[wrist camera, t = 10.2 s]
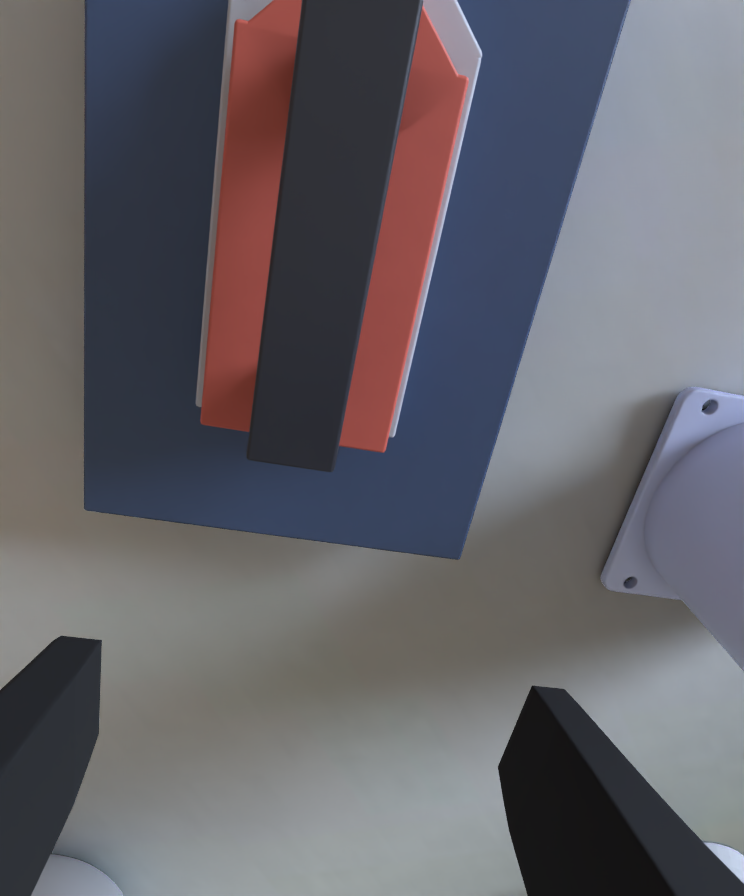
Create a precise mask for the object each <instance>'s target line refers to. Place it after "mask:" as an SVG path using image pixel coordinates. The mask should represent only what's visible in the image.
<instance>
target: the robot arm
mask: <svg viewBox="0 0 744 896" xmlns="http://www.w3.org/2000/svg"><path fill="white" fill-rule="evenodd" d="M708 400H711V401H710V405H709V406H708V408H707V409H705V410H703V411H702V406H703V404H704V403H705V402H706V401H708ZM629 577H632V578H631V579H630V580H629V581H627V582H624V581H625V580H626V579H627V578H629ZM601 581H602V583H603V584H604V586H605V587H606V588H607V589H608V590H611V591H615V592H623V593H631V594H638V595H646V596H654V597H661V598H669V599H677V600H682V601H683V602H684V603H685V604H686V605H687V606H688V608H689V609H690V610H691V611H692V612H693V613H694V614H695V616H696V617H697V618H698V619H699V620H700V621H701V623H702V624H703V625H704V626H705V627H706V628H707V629H708V631H709V632H710V633H711V634H712V635H713V636H714V638H715V639H716V640H717V641H718V642H719V643H720V644H721V646H722V647H723V648H724V649H725V650H726V651H727V653H728V654H729V655H730V656H731V657H732V658H733V659H734V661H735V662H736V663H737V664H738V665H739V666H740V667H741V669H742V670H743V671H744V396H742V395H737V394H732V393H726V392H721V391H715V390H710V389H705V388H699V387H689V388H686V389H684V390H683V391H682V392H680V393H679V395H678V396H677V398H676V400H675V402H674V404H673V407H672V409H671V411H670V414H669V416H668V418H667V421H666V423H665V426H664V428H663V430H662V433H661V435H660V437H659V440H658V442H657V444H656V447H655V449H654V451H653V454H652V456H651V458H650V461H649V463H648V465H647V468H646V470H645V473H644V475H643V477H642V480H641V482H640V484H639V487H638V489H637V491H636V494H635V496H634V498H633V501H632V503H631V505H630V508H629V510H628V513H627V515H626V517H625V520H624V522H623V524H622V527H621V529H620V531H619V534H618V536H617V538H616V541H615V543H614V545H613V548H612V550H611V552H610V555H609V557H608V560H607V562H606V564H605V567H604V569H603V571H602V574H601ZM101 646H102V640H95V639H86V638H76V637H67V636H60V637H58V638H57V639H55V640H54V641H52V642H51V643H50V644H49V645H48V646H47V647H46V648H45V649H44V650H43V651H42V652H41V653H40V654H39V655H38V656H36V657H35V658H34V659H33V660H32V661H31V662H30V663H29V664H28V665H27V666H26V667H25V668H24V669H23V670H22V671H20V672H19V673H18V674H17V675H16V676H15V677H14V678H13V679H12V680H11V681H10V682H9V683H7V684H6V685H5V686H4V687H3V688H2V689H1V690H0V896H31V895H32V892H33V890H34V888H35V886H36V884H37V882H38V880H39V878H40V876H41V873H42V871H43V869H44V867H45V865H46V863H47V861H48V858H49V856H50V854H51V852H52V850H53V848H54V846H55V843H56V841H57V839H58V837H59V835H60V833H61V831H62V828H63V826H64V824H65V822H66V820H67V818H68V815H69V813H70V811H71V809H72V807H73V805H74V802H75V799H76V797H77V794H78V791H79V788H80V786H81V783H82V780H83V777H84V775H85V772H86V769H87V766H88V763H89V760H90V757H91V754H92V752H93V749H94V746H95V743H96V740H97V737H98V734H99V708H100V677H101ZM498 770H499V776H500V782H501V788H502V794H503V800H504V806H505V811H506V816H507V821H508V827H509V832H510V835H511V839H512V843H513V846H514V850H515V853H516V857H517V860H518V863H519V867H520V870H521V874H522V877H523V881H524V884H525V888H526V891H527V894H528V896H744V883H743V882H742V881H741V880H740V879H739V878H738V877H737V876H736V875H735V874H734V873H733V872H732V871H731V870H730V869H729V868H728V867H727V866H726V865H725V864H724V863H723V862H722V861H721V860H720V859H719V858H718V857H717V856H716V855H715V854H714V853H713V852H712V851H711V850H710V849H709V848H708V847H707V846H706V845H705V844H704V843H703V842H702V841H701V839H700V838H699V837H698V836H697V835H696V834H695V833H694V832H693V831H692V830H691V829H690V828H689V827H688V826H687V825H686V824H685V823H684V821H683V820H682V819H681V818H680V817H679V816H678V815H677V814H676V813H675V812H674V811H673V810H672V809H671V807H670V806H669V805H668V804H667V803H666V802H665V801H664V800H663V799H662V798H661V797H660V795H659V794H658V793H657V792H656V791H655V790H654V789H653V788H652V787H651V786H650V784H649V783H648V782H647V781H646V780H645V779H644V778H643V777H642V775H641V774H640V773H639V772H638V771H637V770H636V769H635V768H634V767H633V765H632V764H631V763H630V762H629V761H628V760H627V759H626V757H625V756H624V755H623V754H622V753H621V752H620V751H619V750H618V748H617V747H616V746H615V745H614V744H613V743H612V742H611V740H610V739H609V738H608V737H607V736H606V735H605V734H604V732H603V731H602V730H601V729H600V728H599V727H598V726H597V724H596V723H595V722H594V721H593V720H592V719H591V718H590V717H589V715H588V714H587V713H586V712H585V711H584V710H583V709H582V708H581V706H580V705H579V704H578V703H577V702H576V701H575V700H574V699H573V698H572V697H571V696H570V695H569V694H568V692H567V691H566V690H565V689H558V688H549V687H539V686H532V687H531V689H530V692H529V694H528V696H527V699H526V701H525V704H524V706H523V708H522V711H521V713H520V716H519V718H518V720H517V723H516V725H515V727H514V730H513V732H512V735H511V737H510V739H509V742H508V744H507V747H506V749H505V751H504V754H503V756H502V758H501V761H500V763H499V766H498Z"/></svg>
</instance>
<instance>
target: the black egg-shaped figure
mask: <svg viewBox="0 0 744 896" xmlns="http://www.w3.org/2000/svg"><path fill="white" fill-rule="evenodd" d="M31 896H124V895H123V893H122V892H121V890H120V889H119V887H118V886H117V885H116V884H115V883H114V881H113V880H111V879H110V878H109V877H108V876H107V875H106V874H105V873H103V872H102V871H100V870H99V869H97V868H96V867H94V866H92V865H90V864H88V863H86V862H83V861H81V860H78V859H75V858H71V857H67V856H62V855H54V854H50V856H49V858H48V861H47V863H46V865H45V867H44V869H43V871H42V873H41V876H40V878H39V880H38V882H37V884H36V886H35V888H34V890H33V892H32V895H31Z"/></svg>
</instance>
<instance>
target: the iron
mask: <svg viewBox="0 0 744 896" xmlns="http://www.w3.org/2000/svg"><path fill="white" fill-rule="evenodd" d="M481 58H482V51H481V49H480V47H479V45H478V43H477V41H476V39H475V37H474V35H473V33H472V31H471V28H470V26H469V24H468V22H467V20H466V18H465V16H464V14H463V12H462V10H461V8H460V6H459V4H458V2H457V0H228V11H227V24H226V36H225V48H224V60H223V73H222V85H221V97H220V109H219V122H218V134H217V146H216V158H215V171H214V183H213V195H212V207H211V220H210V232H209V244H208V256H207V269H206V281H205V293H204V305H203V318H202V330H201V342H200V354H199V367H198V379H197V391H196V406H198V407H201V418H200V422H201V424H202V425H207V426H214V427H220V428H227V429H233V430H239V431H246V432H249V437H248V445H247V453H246V457H247V459H248V460H251V461H257V462H264V463H271V464H277V465H284V466H291V467H297V468H304V469H311V470H318V471H324V472H333V470H334V469H335V464H336V459H337V453H338V448H339V446H342V447H348V448H355V449H361V450H368V451H374V452H380V453H384V452H385V450H386V447H387V442H388V438H389V437H391V438H392V437H394V436H395V433H396V428H397V424H398V420H399V415H400V411H401V407H402V402H403V398H404V394H405V389H406V385H407V381H408V376H409V372H410V368H411V363H412V359H413V355H414V350H415V346H416V342H417V337H418V333H419V328H420V324H421V320H422V315H423V311H424V307H425V302H426V298H427V294H428V289H429V285H430V281H431V276H432V272H433V268H434V263H435V259H436V255H437V250H438V246H439V242H440V237H441V233H442V229H443V224H444V220H445V216H446V211H447V207H448V202H449V198H450V194H451V189H452V185H453V181H454V176H455V172H456V168H457V163H458V159H459V155H460V150H461V146H462V142H463V137H464V133H465V129H466V124H467V120H468V116H469V111H470V107H471V103H472V98H473V94H474V90H475V85H476V81H477V77H478V72H479V68H480V63H481Z"/></svg>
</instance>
